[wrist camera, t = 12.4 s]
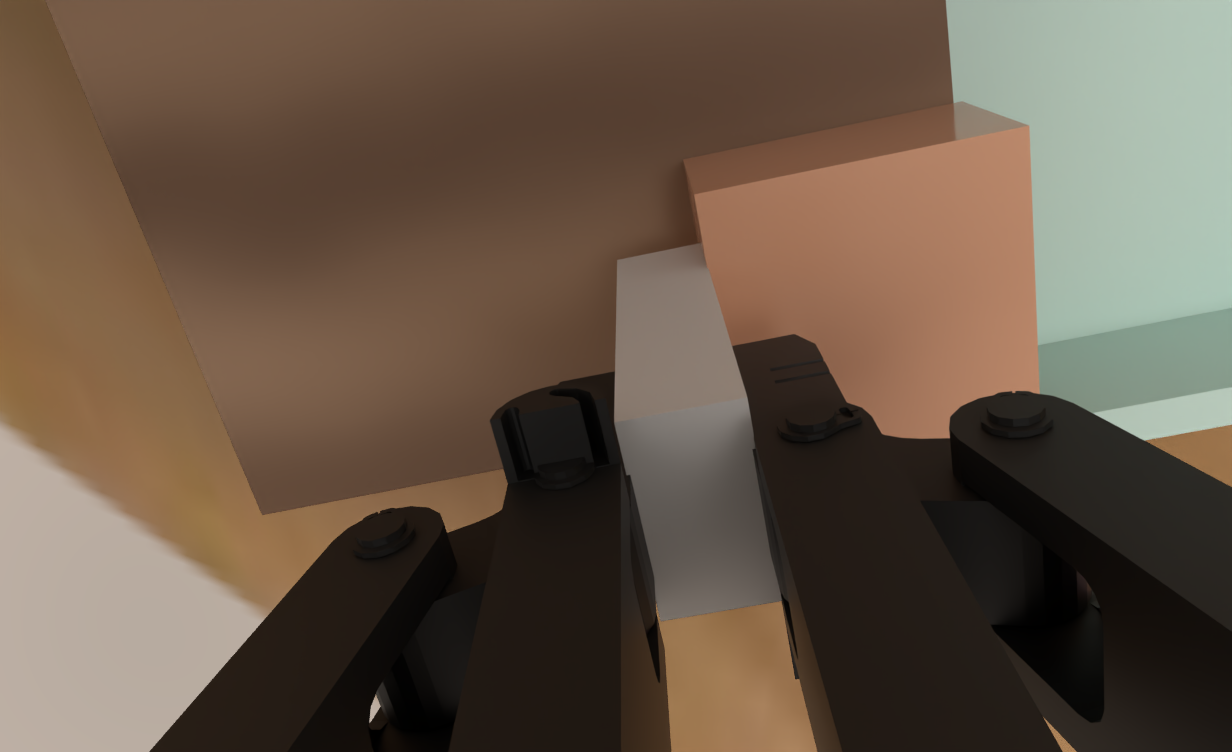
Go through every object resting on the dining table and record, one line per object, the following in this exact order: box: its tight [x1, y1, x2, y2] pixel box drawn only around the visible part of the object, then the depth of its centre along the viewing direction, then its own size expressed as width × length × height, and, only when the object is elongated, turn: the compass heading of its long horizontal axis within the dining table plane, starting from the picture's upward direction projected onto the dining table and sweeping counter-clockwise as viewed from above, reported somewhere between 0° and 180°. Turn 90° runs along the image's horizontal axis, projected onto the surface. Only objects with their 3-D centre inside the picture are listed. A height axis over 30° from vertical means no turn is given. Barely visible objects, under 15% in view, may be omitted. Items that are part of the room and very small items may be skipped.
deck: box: [45, 0, 954, 515], centre depth 18 cm, size 14×15×3 cm
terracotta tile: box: [683, 101, 1040, 439], centre depth 16 cm, size 5×5×3 cm
